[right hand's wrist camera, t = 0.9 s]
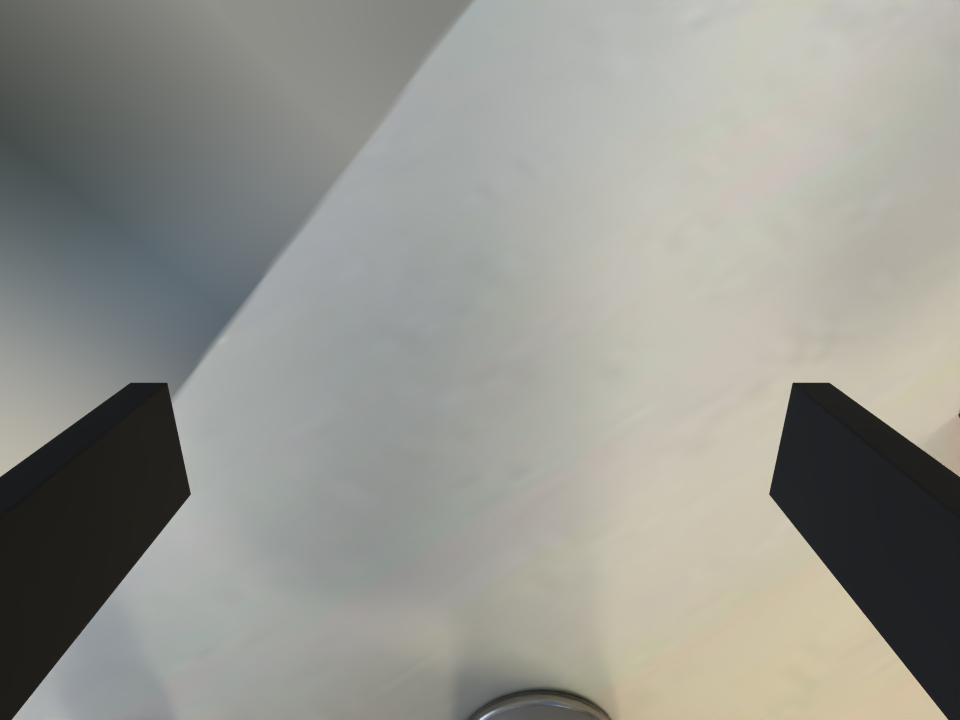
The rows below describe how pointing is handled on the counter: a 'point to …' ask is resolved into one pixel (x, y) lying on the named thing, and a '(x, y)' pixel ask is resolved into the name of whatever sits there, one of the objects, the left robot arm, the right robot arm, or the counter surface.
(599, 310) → the counter surface
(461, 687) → the counter surface
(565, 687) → the counter surface
